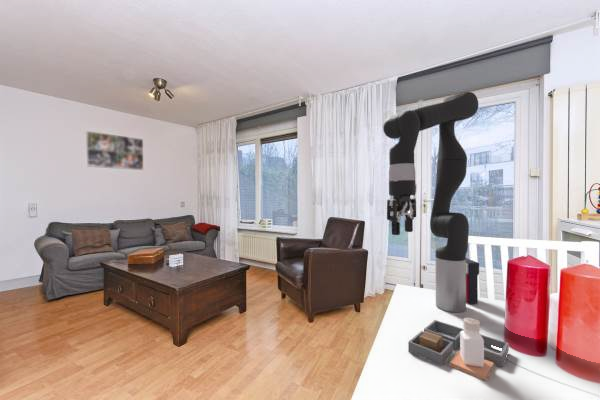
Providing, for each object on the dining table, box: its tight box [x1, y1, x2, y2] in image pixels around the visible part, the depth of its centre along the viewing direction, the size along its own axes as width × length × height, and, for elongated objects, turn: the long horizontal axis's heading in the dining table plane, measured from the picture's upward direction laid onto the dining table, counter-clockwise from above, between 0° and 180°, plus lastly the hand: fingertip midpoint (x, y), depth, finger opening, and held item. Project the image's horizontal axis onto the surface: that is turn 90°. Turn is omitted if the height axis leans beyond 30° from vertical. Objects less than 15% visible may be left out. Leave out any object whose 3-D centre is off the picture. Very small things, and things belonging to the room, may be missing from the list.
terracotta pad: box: [449, 349, 495, 382], centre depth 61 cm, size 7×7×1 cm
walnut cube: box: [419, 331, 443, 353], centre depth 66 cm, size 4×4×4 cm
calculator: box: [466, 257, 480, 305], centre depth 100 cm, size 11×4×15 cm, turn 178°
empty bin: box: [423, 319, 464, 351], centre depth 73 cm, size 8×8×2 cm
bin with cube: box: [407, 330, 454, 366], centre depth 66 cm, size 8×8×2 cm
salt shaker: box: [459, 317, 485, 367], centre depth 61 cm, size 4×4×10 cm
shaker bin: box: [480, 333, 510, 368], centre depth 66 cm, size 8×8×2 cm
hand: (402, 233), depth 80 cm, fingers open, 8 cm apart
